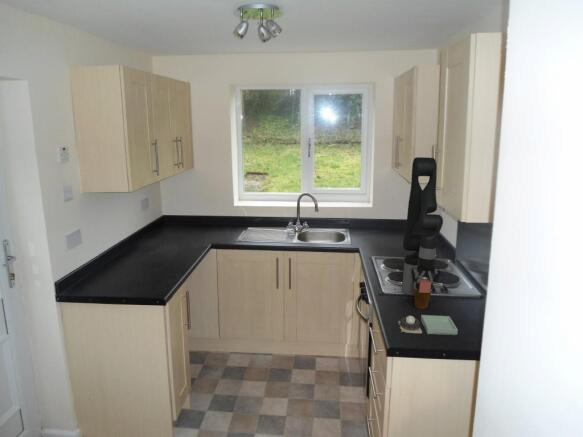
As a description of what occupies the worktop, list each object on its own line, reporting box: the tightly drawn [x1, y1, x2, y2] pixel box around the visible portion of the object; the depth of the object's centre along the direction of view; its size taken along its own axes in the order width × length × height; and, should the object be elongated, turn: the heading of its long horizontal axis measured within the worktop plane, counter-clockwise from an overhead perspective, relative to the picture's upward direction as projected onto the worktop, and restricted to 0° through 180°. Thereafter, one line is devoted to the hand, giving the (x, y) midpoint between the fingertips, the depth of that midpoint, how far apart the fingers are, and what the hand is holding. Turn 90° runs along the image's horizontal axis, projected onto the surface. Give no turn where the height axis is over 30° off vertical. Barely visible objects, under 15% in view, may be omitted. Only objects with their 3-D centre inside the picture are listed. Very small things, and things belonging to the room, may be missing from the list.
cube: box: [418, 278, 431, 293], centre depth 212 cm, size 5×5×5 cm
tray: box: [420, 314, 458, 336], centre depth 207 cm, size 13×13×3 cm
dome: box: [405, 315, 416, 324], centre depth 205 cm, size 4×4×4 cm
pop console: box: [397, 316, 423, 334], centre depth 205 cm, size 9×9×4 cm
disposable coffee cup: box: [413, 282, 434, 310], centre depth 227 cm, size 10×10×12 cm
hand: (423, 289), depth 212 cm, fingers closed on cube, 5 cm apart
